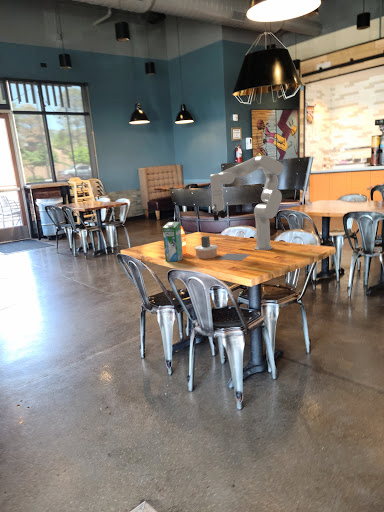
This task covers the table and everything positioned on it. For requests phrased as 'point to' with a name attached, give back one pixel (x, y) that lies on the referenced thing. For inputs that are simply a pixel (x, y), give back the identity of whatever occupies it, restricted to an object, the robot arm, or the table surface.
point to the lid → (205, 244)
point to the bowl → (206, 254)
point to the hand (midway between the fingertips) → (219, 219)
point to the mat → (234, 256)
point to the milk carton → (173, 241)
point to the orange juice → (183, 240)
